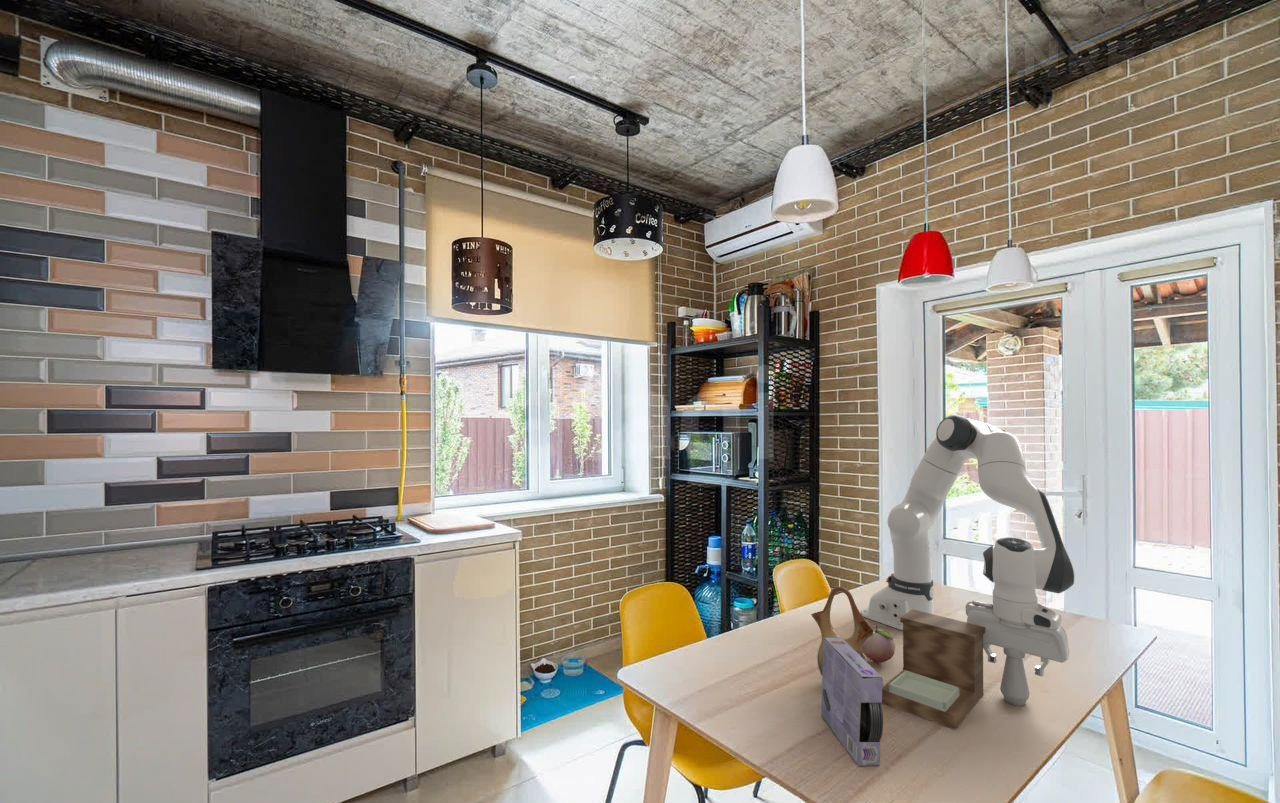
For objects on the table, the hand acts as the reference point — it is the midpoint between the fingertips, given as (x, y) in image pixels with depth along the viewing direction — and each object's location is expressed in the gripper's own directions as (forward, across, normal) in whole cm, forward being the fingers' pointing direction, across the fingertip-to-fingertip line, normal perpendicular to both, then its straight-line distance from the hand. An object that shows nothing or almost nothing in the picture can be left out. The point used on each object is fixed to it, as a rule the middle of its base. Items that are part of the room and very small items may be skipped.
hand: (1015, 668), depth 132 cm
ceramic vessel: (+8, -31, -24) cm, 40 cm away
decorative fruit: (+8, -31, -3) cm, 32 cm away
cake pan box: (+8, -20, -43) cm, 48 cm away
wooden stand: (+8, -14, -12) cm, 20 cm away
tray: (+5, -14, -18) cm, 23 cm away
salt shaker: (+8, 0, 0) cm, 8 cm away
